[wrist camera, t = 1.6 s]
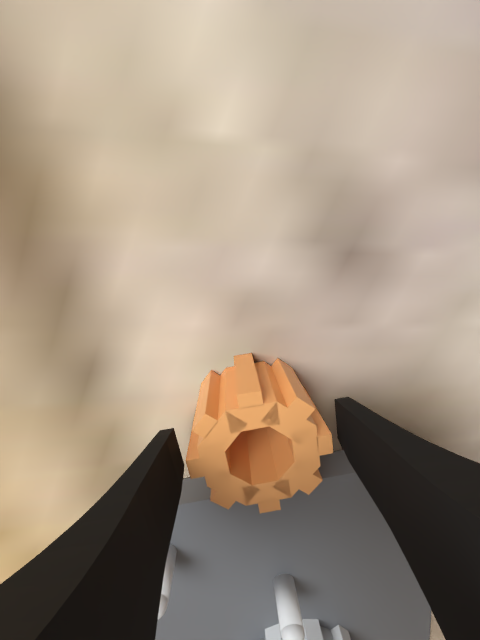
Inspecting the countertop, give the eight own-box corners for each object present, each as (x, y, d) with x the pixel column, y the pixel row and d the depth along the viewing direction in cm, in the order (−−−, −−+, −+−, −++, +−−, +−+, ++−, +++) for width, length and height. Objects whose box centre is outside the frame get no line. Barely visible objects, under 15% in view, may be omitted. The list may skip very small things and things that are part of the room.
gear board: (183, 681, 19) (171, 802, 15) (106, 492, 14) (55, 594, 10) (412, 639, 19) (464, 747, 15) (417, 436, 14) (498, 512, 10)
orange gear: (209, 457, 14) (203, 523, 10) (186, 364, 12) (170, 406, 9) (310, 438, 14) (337, 499, 10) (299, 344, 12) (326, 378, 9)
